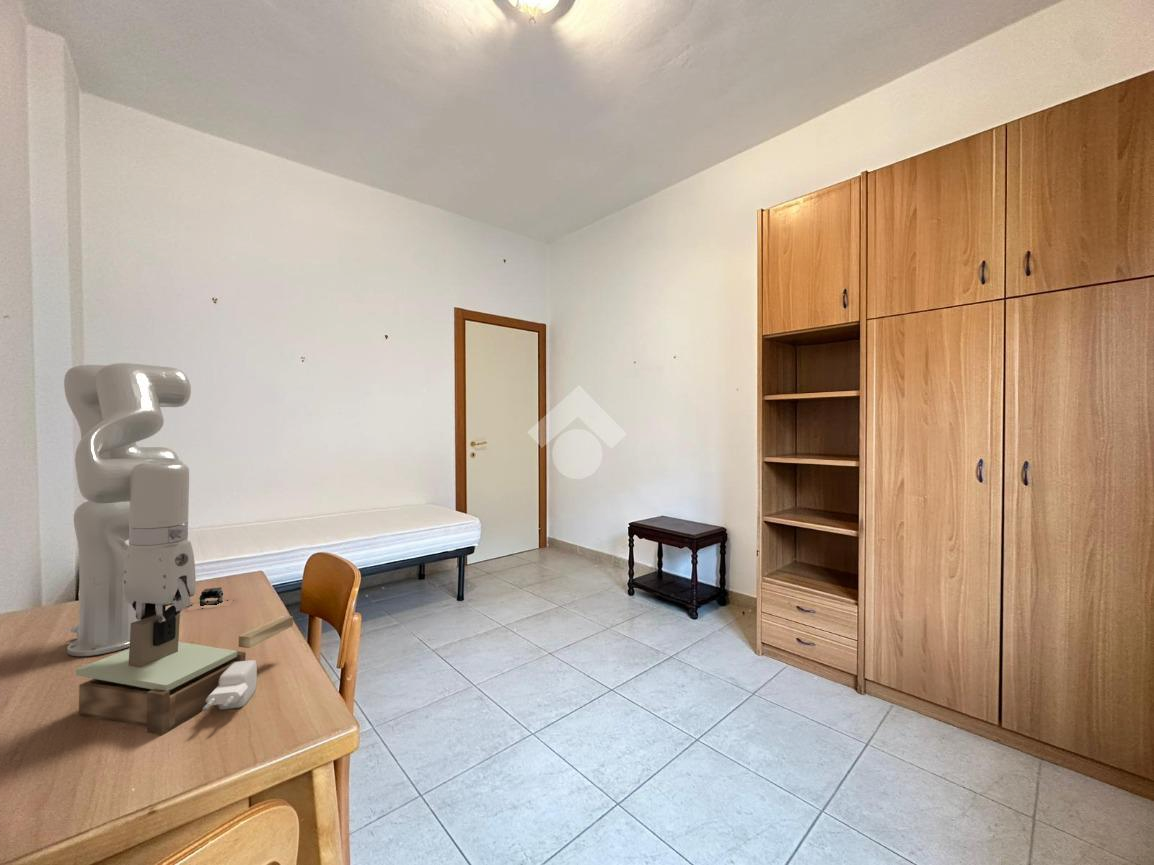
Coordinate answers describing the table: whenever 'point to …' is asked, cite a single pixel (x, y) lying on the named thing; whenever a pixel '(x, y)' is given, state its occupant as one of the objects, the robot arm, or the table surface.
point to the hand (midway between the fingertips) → (156, 640)
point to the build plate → (211, 596)
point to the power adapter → (234, 686)
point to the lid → (156, 660)
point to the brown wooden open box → (150, 700)
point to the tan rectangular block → (265, 631)
